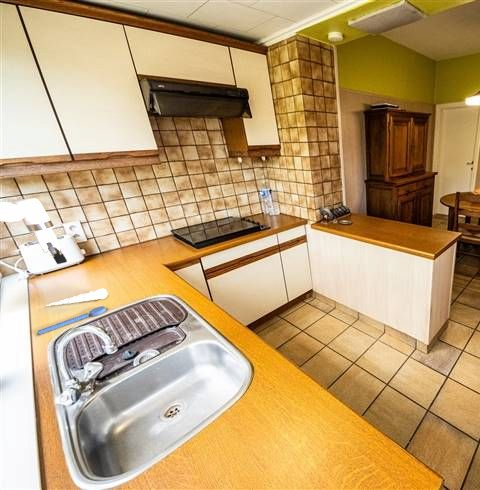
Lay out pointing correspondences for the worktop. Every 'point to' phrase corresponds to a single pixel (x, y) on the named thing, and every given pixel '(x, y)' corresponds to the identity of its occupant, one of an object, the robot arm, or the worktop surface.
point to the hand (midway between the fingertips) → (62, 262)
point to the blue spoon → (74, 319)
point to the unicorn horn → (82, 297)
